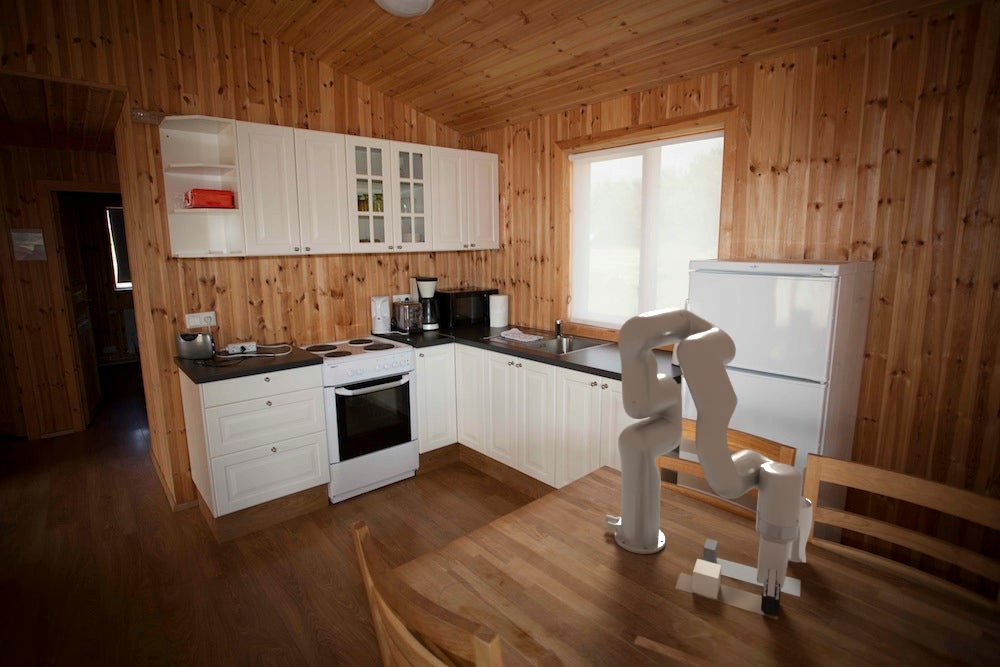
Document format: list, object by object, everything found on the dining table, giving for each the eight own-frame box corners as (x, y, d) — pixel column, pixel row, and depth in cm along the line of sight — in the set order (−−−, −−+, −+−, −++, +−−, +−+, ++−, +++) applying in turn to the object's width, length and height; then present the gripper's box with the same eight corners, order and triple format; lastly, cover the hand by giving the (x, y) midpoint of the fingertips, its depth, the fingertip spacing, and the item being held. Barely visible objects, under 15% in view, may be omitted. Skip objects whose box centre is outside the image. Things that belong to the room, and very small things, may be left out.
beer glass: (812, 569, 122) (818, 510, 119) (780, 566, 123) (784, 507, 120) (802, 551, 128) (807, 494, 125) (771, 548, 130) (775, 492, 127)
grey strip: (700, 572, 122) (701, 549, 120) (705, 558, 127) (706, 535, 126) (799, 600, 112) (802, 575, 111) (800, 584, 117) (802, 560, 116)
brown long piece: (674, 592, 116) (675, 567, 114) (680, 576, 121) (681, 553, 119) (777, 623, 106) (779, 597, 104) (778, 605, 111) (781, 580, 109)
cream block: (692, 591, 114) (693, 571, 113) (696, 578, 118) (697, 558, 117) (716, 599, 112) (717, 578, 110) (720, 585, 116) (721, 565, 115)
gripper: (759, 501, 114) (754, 576, 117) (752, 542, 100) (746, 625, 103) (799, 510, 110) (792, 587, 114) (797, 553, 96) (789, 639, 100)
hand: (770, 604), depth 108 cm, fingers closed on brown long piece, 4 cm apart
